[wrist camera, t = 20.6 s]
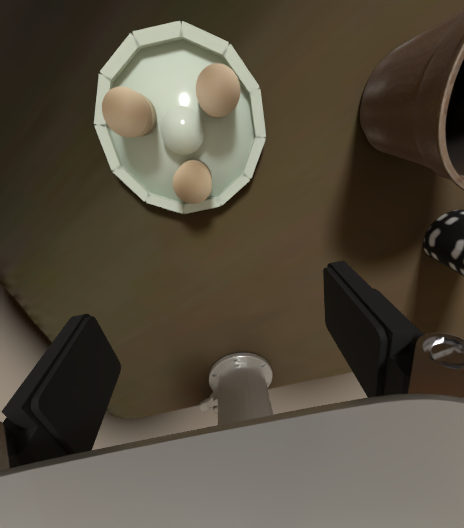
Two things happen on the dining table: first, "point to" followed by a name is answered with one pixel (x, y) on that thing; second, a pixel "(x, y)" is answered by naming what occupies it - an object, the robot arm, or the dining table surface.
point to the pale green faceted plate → (180, 116)
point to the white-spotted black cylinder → (447, 240)
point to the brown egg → (192, 181)
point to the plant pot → (421, 101)
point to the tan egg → (128, 112)
